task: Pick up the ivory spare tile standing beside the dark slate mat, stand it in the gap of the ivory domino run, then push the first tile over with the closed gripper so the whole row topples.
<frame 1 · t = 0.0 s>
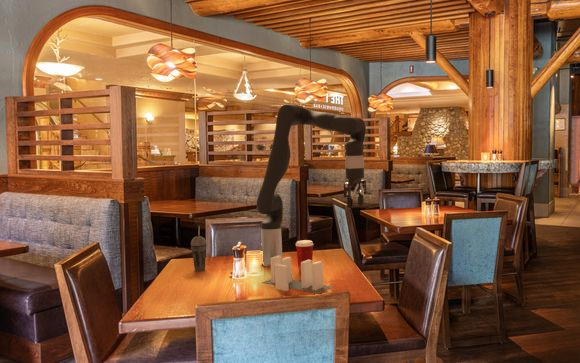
hand: (355, 206, 208), 29 cm above the table, fingers open, 8 cm apart
spare tile: (282, 291, 195), on the table
tile d: (307, 286, 197), point 1 cm above the table, touching slate mat
tile b: (286, 283, 203), point 1 cm above the table, touching slate mat
tile a: (276, 281, 206), point 1 cm above the table, touching slate mat
paper cup: (305, 274, 219), on the table
tile e: (317, 288, 194), point 1 cm above the table, touching slate mat
slate mat: (296, 286, 200), on the table
beverage cup: (199, 270, 232), on the table
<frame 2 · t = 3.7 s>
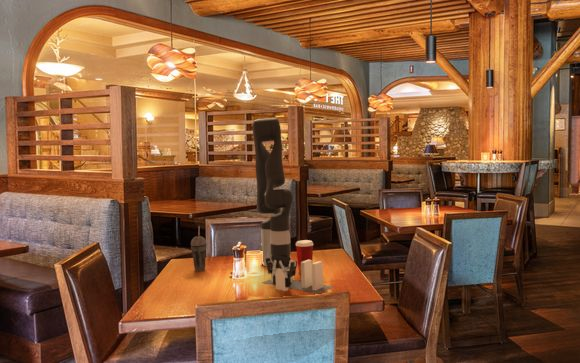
hand: (282, 285, 194), 2 cm above the table, fingers closed on spare tile, 5 cm apart
spare tile: (282, 291, 195), on the table, touching gripper
everything else where it was.
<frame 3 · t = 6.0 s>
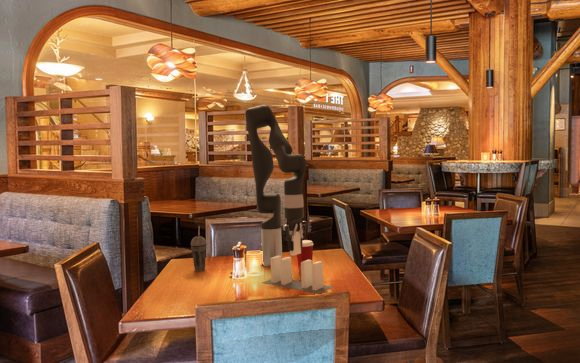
hand: (295, 249, 199), 15 cm above the table, fingers closed on spare tile, 5 cm apart
spare tile: (295, 254, 199), point 13 cm above the table, touching gripper
everything else where it was.
when the fingers open (4 cm above the table, at t = 8.4 s): spare tile stays where it is, resting on slate mat.
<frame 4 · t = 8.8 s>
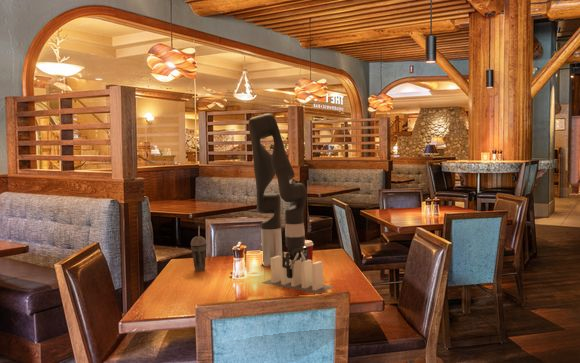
hand: (296, 275, 200), 4 cm above the table, fingers open, 8 cm apart
spare tile: (296, 284, 200), point 1 cm above the table, touching slate mat
everything else where it was.
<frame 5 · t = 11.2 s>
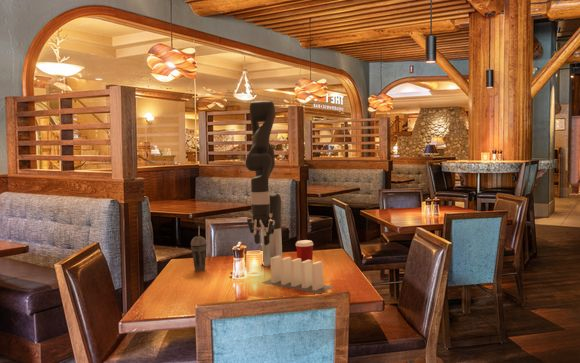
hand: (262, 243, 209), 15 cm above the table, fingers open, 4 cm apart
nothing on the table moved.
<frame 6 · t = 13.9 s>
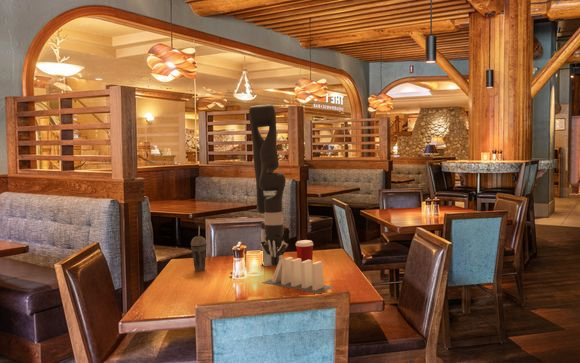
hand: (275, 265, 206), 7 cm above the table, fingers closed
tile b: (286, 282, 203), point 1 cm above the table, tilted 7°, touching slate mat
tile a: (276, 280, 206), point 1 cm above the table, tilted 26°, touching slate mat
everything else where it was.
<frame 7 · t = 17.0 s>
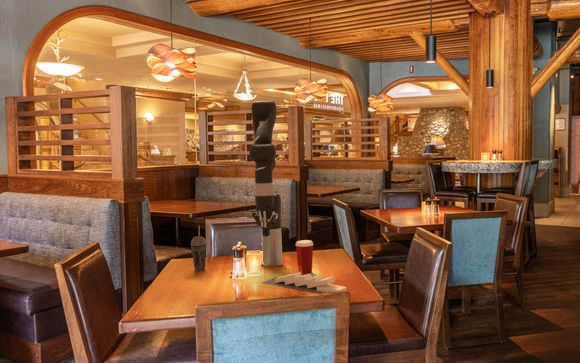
hand: (266, 236, 208), 19 cm above the table, fingers closed
spare tile: (299, 283, 200), point 1 cm above the table, tilted 71°, touching slate mat, tile b, tile d
tile d: (310, 284, 196), point 2 cm above the table, tilted 71°, touching spare tile, tile e
tile b: (288, 281, 203), point 1 cm above the table, tilted 72°, touching slate mat, spare tile, tile a
tile a: (278, 279, 206), point 1 cm above the table, tilted 72°, touching tile b
tile e: (320, 286, 193), point 1 cm above the table, tilted 90°, touching slate mat, tile d
everything else where it was.
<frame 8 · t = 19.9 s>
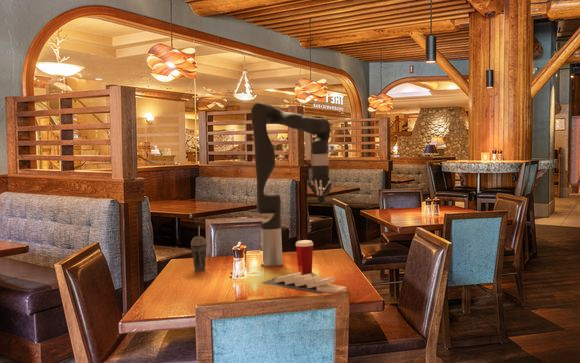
hand: (321, 203, 224), 29 cm above the table, fingers closed
nothing on the table moved.
at the end: spare tile inside the target area (1.1 cm from its centre), point 1.4 cm above the table; spare tile tilted 71°; tile e tilted 90° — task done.
